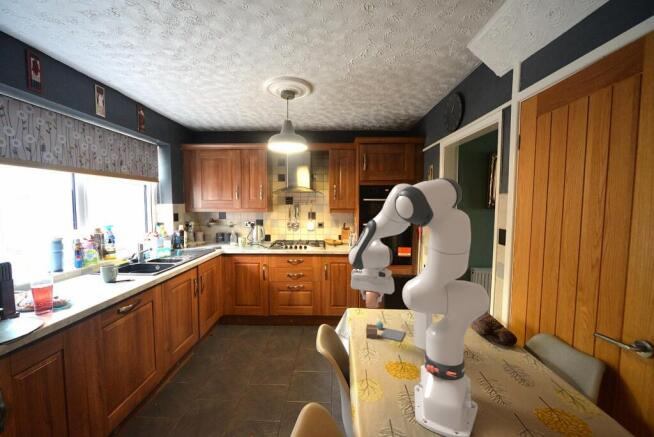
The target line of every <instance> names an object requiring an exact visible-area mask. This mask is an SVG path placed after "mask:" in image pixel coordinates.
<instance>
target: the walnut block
mask: <svg viewBox="0 0 654 437" xmlns="http://www.w3.org/2000/svg"><path fill="white" fill-rule="evenodd" d="M365 338H366V339H367V340H368V339H370V340H377V339H378V328H377V325H376V324H370V323H367V324H366V327H365Z"/></svg>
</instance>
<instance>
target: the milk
mask: <svg viewBox="0 0 654 437" xmlns="http://www.w3.org/2000/svg"><path fill="white" fill-rule="evenodd" d="M431 324H433V314H424V313H420V312H416V311H413V345H414V347H416V348H418V349H421V350H424V351H426V331H427V329H428V327H429V326H430V325H431Z"/></svg>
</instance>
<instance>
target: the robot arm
mask: <svg viewBox="0 0 654 437" xmlns="http://www.w3.org/2000/svg"><path fill="white" fill-rule="evenodd" d="M462 197H463V191H462V188H461V186H460V184H459V183H458V182H457V180H454V179H453V178H448V177H438V178H435V179H431V180H425V181H424V180H423V181H421V182H418V183H415V184H413V185H412V184H410V183H409V184H408V183H399V184H396V185H395V186H394V187H393V188H392V189H391V191H390V192H389V193H388V196H387V197H386V199H385V202H384V203H383V206H382V208H381V210H380V212H379V213H378V214H377V215H376V216H375V217H374V218H372V219H371V220H369V221H368V222H367V223H366V225H365V227H364V228H363V230H362V231H361V234H360V236H359V237H358V239H357V240H356V242H355V244H354V245H353V246H352V247H351V248H350V250H349V252H348V263H349V265H350V266H351V267H352V268H354V269H353V270H351V272H350V276H351V280H350V288H351V290H359V291H360V294H361V296H362V300H363V301H364V300H365V301H366V291H372V292H378V295H380V296H378V298H377V302H378V303H381V302H382V298H383V297H384V294H387V295H392V294H393V293H394V292H395V280H394V278H393V276H392V274H393V271H392V270H390V269H388V267H389V266H390V265H391V264H392V262H393V256H394V255H393V251H392V249H391V247H389V246H388V245H385V244H384V243H383V242H382V241H381V239H382V238H388V237H391V236H396V235H400V234H402V233H403V232H405V231H406V230H407V229H408V228H409V226H410V225H411V224H413V225H415V226H416V227H419V228H423V227H427V228H428V230H429V240H428V250H427V251H428V252H427V258H426V263H425V265H424V268H423V269H422V271H421V272H419V274H417V275H416V276H415V277H413V278H412V279H410V280H408V281H407V282H406V283H405V284H404V286H403V288H402V292H401V293H402V295H401V296H402V300H403V303H404V305H405V306H406V308H408V310H409V311H413V312H414V311H416V312H420V313H424V314H432V315H440V316H443V317H441V319H439V320H438V321H435V322H432V324H431V325H430V326H429V327H428V329H427V331H426V350H424V357H423V359H424V364H422V365H421V366H420V382H419V383H418V384H416V385H415V386H414V387H413V390H414V412H415V414H414V415H415V416H414V417H415V421H416V422H417V423H418V424H420V425H421V426H422V427H424V428H426V429H428V430H430V431H432V432H433V433H436V434H439V435H441V436H444V437H470V436H471V433H472V431H473V427H474V424H475V420H476V419H477V414H478V411H479V406H478V403H477V402H475V401H474V400H473V399H472V397H471V396H472V395H471V394H472V388H471V379H470V377H469V376H468V375H467V374H466V361H465V358H464V347H465V337H466V333H467V331H468V330H469V327H470V326H471V325H472V324H473V323H474V321H476V320H477V319H479V317H481V316H483V315H484V314H486V312H487V311H488V309H489V308H490V297H489V294H488V292H487V290H486V289H485V288H484V286H483V285H481V284H480V283H478V282H477V283H476V282H472V281H468V280H457V279H460V278H461V277H463V275H464V274H465V273H466V272H467V269H468V268H469V267H468V266H469V260H470V259H469V258H470V251H471V243H472V230H471V228H472V227H471V219H470V217H469V215H468V213H466V212H464V211H463V210H462V209H459V208H458V209H457V208H455V207H456V206H458V205H459V204H460V202H461V200H462Z"/></svg>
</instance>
